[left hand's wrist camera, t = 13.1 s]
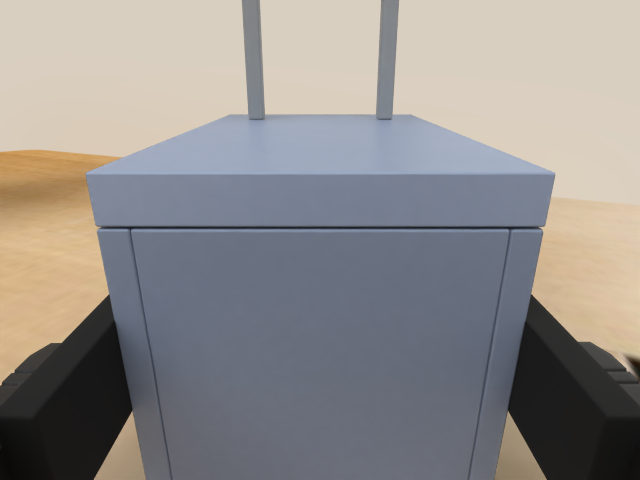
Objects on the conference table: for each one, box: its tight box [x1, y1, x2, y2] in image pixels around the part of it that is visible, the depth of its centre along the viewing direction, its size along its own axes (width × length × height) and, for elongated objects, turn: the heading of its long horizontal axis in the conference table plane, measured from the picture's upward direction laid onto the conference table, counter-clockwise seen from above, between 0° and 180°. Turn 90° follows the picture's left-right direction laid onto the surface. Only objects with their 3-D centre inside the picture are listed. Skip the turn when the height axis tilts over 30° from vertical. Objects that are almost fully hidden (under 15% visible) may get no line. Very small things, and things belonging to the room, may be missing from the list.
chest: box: [97, 227, 543, 480], centre depth 18 cm, size 14×10×10 cm
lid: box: [86, 0, 555, 227], centre depth 15 cm, size 15×10×8 cm, turn 0°
